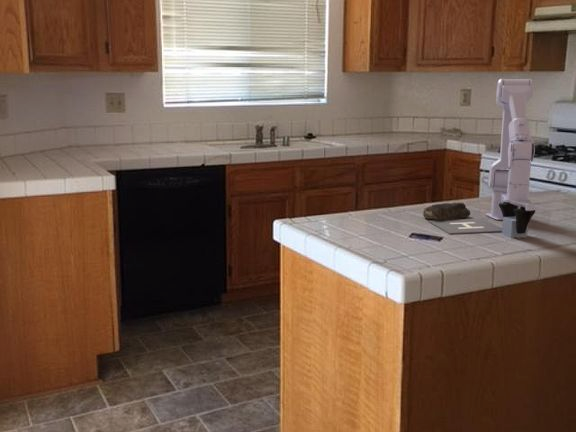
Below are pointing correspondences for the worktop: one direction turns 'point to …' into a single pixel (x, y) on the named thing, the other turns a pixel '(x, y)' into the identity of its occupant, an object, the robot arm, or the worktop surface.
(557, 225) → the worktop surface
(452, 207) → the rock
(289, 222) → the worktop surface
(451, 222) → the letter board
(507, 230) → the gray cube
